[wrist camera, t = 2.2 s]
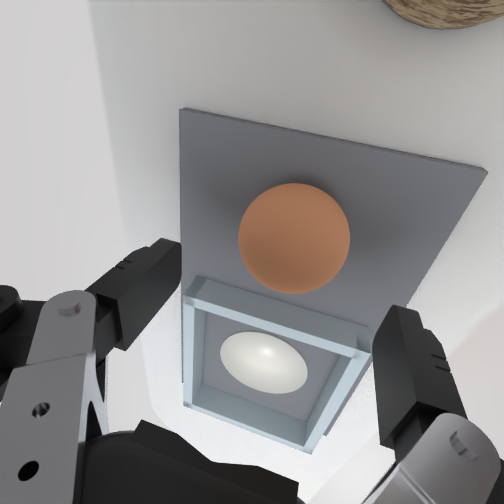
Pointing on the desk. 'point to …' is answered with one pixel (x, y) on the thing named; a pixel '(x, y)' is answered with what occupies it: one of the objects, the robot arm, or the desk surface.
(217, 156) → the mat
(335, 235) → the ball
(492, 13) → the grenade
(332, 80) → the desk surface
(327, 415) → the square tray
